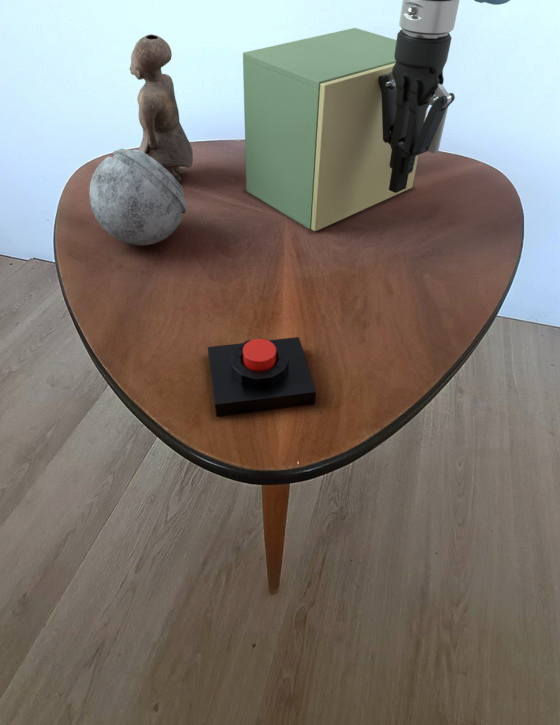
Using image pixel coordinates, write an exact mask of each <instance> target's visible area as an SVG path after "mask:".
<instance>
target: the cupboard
mask: <svg viewBox="0 0 560 725" xmlns="http://www.w3.org/2000/svg"><path fill="white" fill-rule="evenodd" d="M396 41H397V39H394V38H392V37H387V36H384V35H380V34H377V33H374V32H370V31H367V30H363V29H360V28H358V27H357V28H356V27H353V28H347V29H343V30H339V31H334V32H330V33H325V34H321V35H315V36H312V37H311V36H310V37H307V38H303V39H298V40H294V41H289V42H285V43H280V44H275V45H272V46H267V47H262V48H257V49H253V50H249V51H246V52H242V70H243V71H242V78H243V80H242V81H243V108H244V109H243V113H244V115H243V116H244V145H245V146H244V147H245V148H244V149H245V183H246V184H245V186H246V192H247V193H249V194H250V195H252V196H254V197H256V198H257V199H259V200H260V201H262V202H264V203H266V204H267V205H269V206H271V207H273V208H274V209H275V210H277V211H279V212H280V213H282V214H284V215H285V216H287V217H289V218H290V219H292V220H294V221H295V222H297V223H299V224H301V225H302V226H304V227H305V228H307V229H308V230H311V223H312V208H313V192H314V176H315V161H316V145H317V129H318V114H319V98H320V84H322V83H325V82H329V81H332V80H336V79H339V78H343V77H347V76H350V75H354V74H357V73H361V72H365V71H368V70H372V69H375V68H379V67H382V66H386V65H390V64H393V63H396V60H395V58H394V54H395V48H396Z"/></svg>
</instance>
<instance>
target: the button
mask: <svg viewBox="0 0 560 725" xmlns="http://www.w3.org/2000/svg"><path fill="white" fill-rule="evenodd" d="M250 340H251V341H249V342H247V343H246V344H245V346H244V347H243V362H244V365H245V366H246V367H247V368H248V369H250V370H253V371H257V372H259V371H267V370H269V369H271V368H272V367H273V366H274V365H275V363H276V347H275V345H274V344H273V343H272V342H270V341H268V340H269V339H265V338H255V339H250Z"/></svg>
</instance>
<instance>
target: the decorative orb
mask: <svg viewBox="0 0 560 725" xmlns="http://www.w3.org/2000/svg"><path fill="white" fill-rule="evenodd" d="M88 191H89V192H88V193H89V196H88V197H89V203H90V207H91V211H92V213H93V215H94V217H95V219H96V221H97V222H98V224H99V225H100V226H101V227H102V229H103V230H104V231H105V232H106V233H107V234H109V235H110V236H111V237H112V238H114V239H115V240H118V241H120V242H121V243H125V244H128V245H132V246H149V245H151V246H152V245H154V244H157V243H160V242H162V241H165V239H167V238H168V237H170V236H171V235H172V234H173V233H174V232H175V231H176V230H177V228H178V227H179V226H180V223H181V222H182V218H183V217H182V215H181V214H185V213H186V210H187V206H188V205H187V201H186V199H185V196H184V194H185V191H184V188H183V186H182V185H181V183H180V181H177V180H176V179H175V178H174V176H173V175H172V174H171V173H170V172H169V171H168V170H166V169H165V168H164V167H163V166H162V165H161V164H160V163H158V162H157V161H156V160H154V159H153V158H152V157H150V156H149V155H148V154H145V153H144V152H142V151H139V149H132V150H131V149H126V148H119V149H117V150H114V151H113V152H112V156H107V157H105V158H104V159H103V160H102V161H101V162H100V163H99V164H98V166H97V167H96V168H95V170H94V172H93V174H92V177H91V180H90V183H89V189H88Z"/></svg>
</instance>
